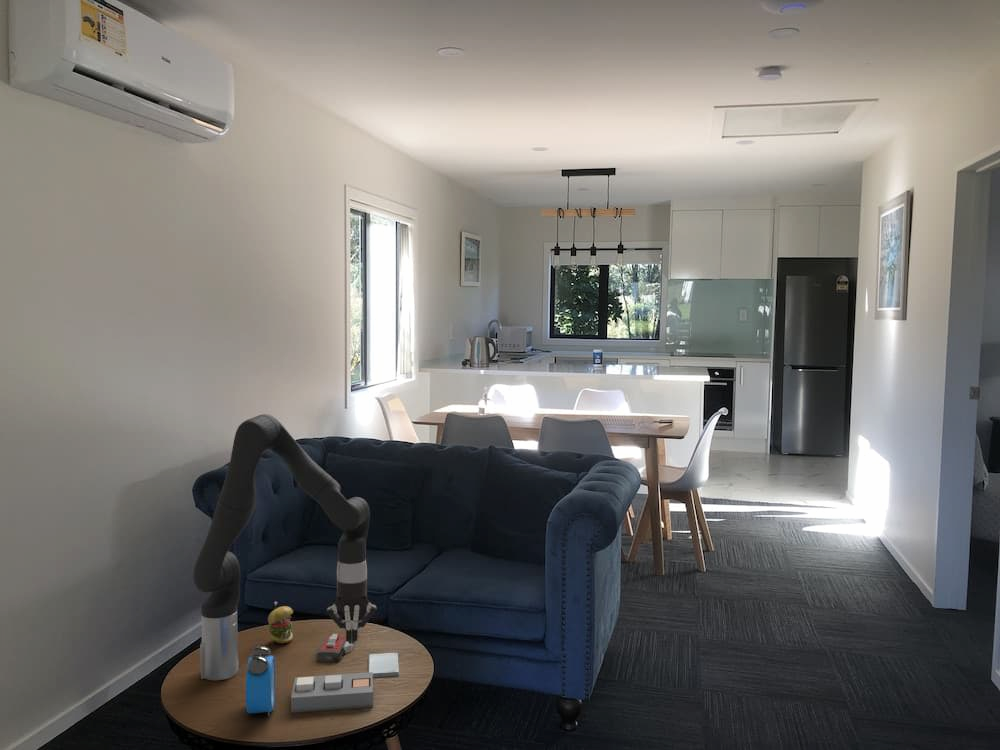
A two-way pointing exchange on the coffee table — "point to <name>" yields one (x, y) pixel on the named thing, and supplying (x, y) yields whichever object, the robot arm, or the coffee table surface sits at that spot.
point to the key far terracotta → (361, 683)
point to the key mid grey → (333, 682)
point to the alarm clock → (260, 681)
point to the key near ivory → (305, 684)
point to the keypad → (333, 694)
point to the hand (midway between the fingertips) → (351, 642)
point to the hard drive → (384, 664)
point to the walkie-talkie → (334, 648)
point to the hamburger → (280, 624)
